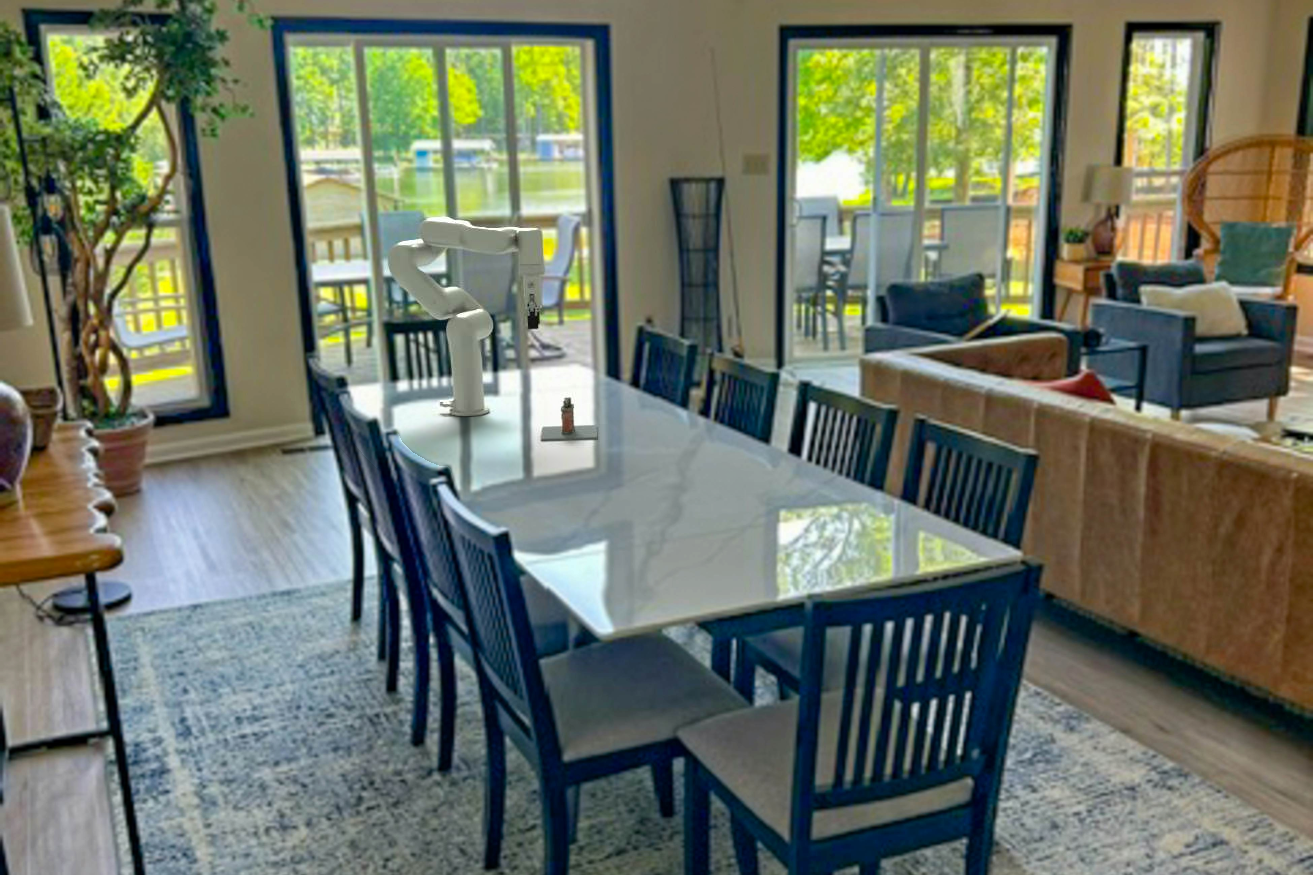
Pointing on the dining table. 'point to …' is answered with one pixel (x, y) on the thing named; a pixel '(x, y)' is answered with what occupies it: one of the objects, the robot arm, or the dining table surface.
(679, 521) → the dining table surface
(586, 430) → the mat
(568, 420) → the lighter
